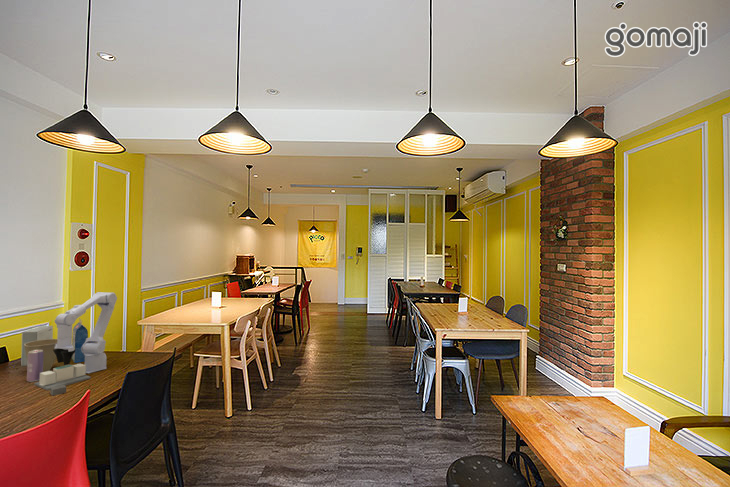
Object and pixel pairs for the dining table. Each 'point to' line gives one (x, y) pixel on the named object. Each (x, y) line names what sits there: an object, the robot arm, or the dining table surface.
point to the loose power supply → (58, 390)
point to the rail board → (49, 380)
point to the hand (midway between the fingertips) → (63, 363)
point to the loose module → (63, 372)
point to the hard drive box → (35, 338)
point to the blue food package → (79, 341)
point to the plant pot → (47, 348)
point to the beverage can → (34, 365)
